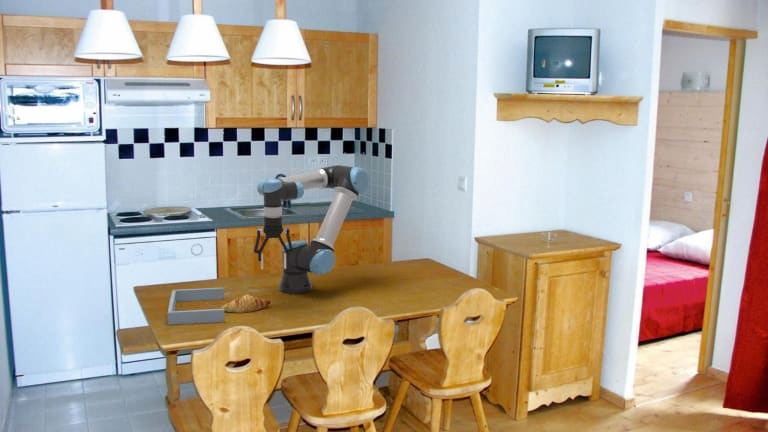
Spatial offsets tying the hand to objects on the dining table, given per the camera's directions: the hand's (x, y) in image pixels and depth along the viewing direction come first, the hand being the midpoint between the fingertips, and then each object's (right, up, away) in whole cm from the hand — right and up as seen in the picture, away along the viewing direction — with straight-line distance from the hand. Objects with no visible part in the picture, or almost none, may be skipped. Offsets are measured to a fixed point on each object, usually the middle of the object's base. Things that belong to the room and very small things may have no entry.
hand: (273, 268), depth 300 cm
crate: (-32, -18, -3) cm, 36 cm away
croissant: (-12, -18, 0) cm, 22 cm away
